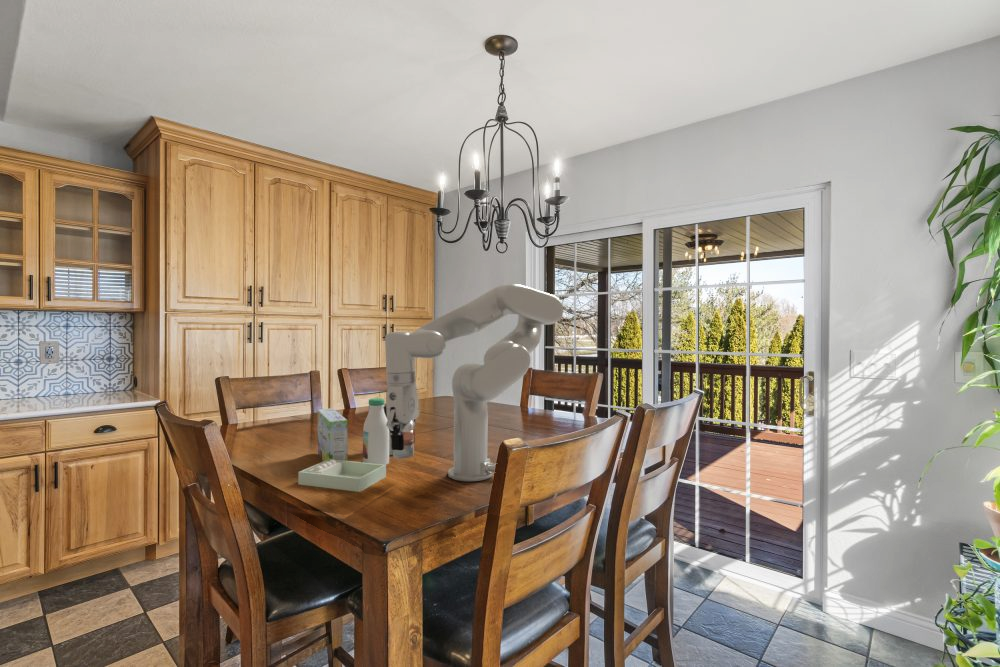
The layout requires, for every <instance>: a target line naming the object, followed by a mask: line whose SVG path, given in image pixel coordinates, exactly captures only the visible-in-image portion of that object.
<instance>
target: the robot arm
mask: <svg viewBox="0 0 1000 667" xmlns="http://www.w3.org/2000/svg"><path fill="white" fill-rule="evenodd" d="M563 314H564V305H563V303H562V301H561V300H560V298H558V297H557V296H556V295H554V294H552V293H551V294H550V293H549V292H545V291H541V290H538V289H535V288H532V287H529V286H526V285H523V284H518V283H509V284H501V285H499V286H496V287H493V288H492V289H490V290H488V291H486V292H485V293H483V294H482V295H480V296H478V297H476V298H474V299H473V300H471V301H469V302H467V303H465V304H463V305H462V306H460V307H458V308H455V309H453V310H452V311H450V312H447V313H445V314H444V315H441V316H440V317H437V318H435V319H433V320H431V321H430V322H428V323H426V324H424V325H422V326H421V327H419V328H417V329H415V330H414V331H413V332H410V331H393V332H388V333H386V335H385V338H384V341H385V342H384V346H385V374H386V375H385V377H386V386H387V389H386V404H387V424H386V426H387V427H388V428H389V431H390V435H391V441H392V450H403V449H404V439H403V435H401V434H402V427H403V424H406V423H408V422H410V421H412V420H413V434H414V435H415V428H416V424H415V423H416V419H418V417H419V416H420V405H419V404H420V403H419V396H418V395H419V394H418V389H417V384H416V383H417V382H416V380H417V379H416V359H417V358H420V359H436V358H438V357H440V356H441V355H442V354H443V353H444V351H445V349H446V345H447V343H448V342H449V341H452V340H455V339H457V338H462V337H466V336H471V335H473V334H477V333H478V332H480V331H482V330H483V329H486V328H487V327H489V326H490V325H492V324H494V323H495V322H497V321H499V320H500V319H502V318H503V317H505V316H507V315H518V319H517V325H516V326H515V327H514V329H513V330H511V332H509V333H508V334H507V335H505V336H504V337H503V338H501V339H500V340H499V341H497V342H496V343H494V344H493V345H491V346H490V347H489V348H488V349H487V350H486V351H485V353H484V355H483V365H482V364H478V363H470V362H467V363H464V364H462V365H460V366H458V368H457V369H456V370H455V371H454V372H453V375H452V380H451V388H452V396H453V397H452V398H453V408H454V409H453V410H454V411H453V417H454V418H453V467H451V468H449V469H448V471H447V476H448V478H450V479H453V480H455V481H458V482H459V481H460V482H479V481H480V482H481V481H486V480H488V479H490V478H491V477H493V473H495V472H494V470H495V465H496V464H497V463H492V462H491V458H490V457H488V429H489V428H488V427H489V425H488V420H489V410H488V409H489V408H488V402H490V401H493V400H495V399H496V398H498V397H499V396H501V395H502V394H503V393H505V392H506V391H507V390H509V389H510V388H511V387H512V386H514V385H515V384H516V383H517V382H518V381H520V380H521V379H522V378H523V377H524V376H525V375H527V374H526V373H527V372H528V370H529V368H530V366H531V353H532V352H533V351H535V349H537V347H538V345H539V343H540V341H541V336H542V328H543V327H542V325H543V326H544V325H545V326H546V325H548V326H549V325H554V324H557V323H558V322H559V321H561V319H562V316H563ZM395 420H398V421H399V422H400V423H398V422H395ZM395 425H399V428H397V426H395ZM415 440H416V439H415V437H414V444H415V442H416V441H415Z"/></svg>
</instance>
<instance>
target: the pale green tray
mask: <svg viewBox="0 0 1000 667" xmlns="http://www.w3.org/2000/svg"><path fill="white" fill-rule="evenodd" d="M330 460H334V459H328V460H326V461H323V460H322V461H321V462H319V463H316V464H314V465H312V466H309V467H307V468H305V469H302V470H300V471H298V475H297V476H298V479H297V480H298V482H297V483H298V485H301V486H309V487H315V488H324V489H333V490H341V491H350V492H356V493H357V492H358V493H360V492H362V491H364V490H366V489H367V488H369V487H371V486H373V485H374V484H376V483H378V482H380V481H381V480H383V479H385V478H386V477H387V465H382V464H373V463H363V461H362V462H361V461H351V460H348V461H344V460H335V461H336V462H341V463H342V474H341V475H339V476H337V475H328V474H320V473H311V472H308V470H310V469H312V468H315V467H316V466H318V465H321V464H323V463H325V462H329V461H330Z"/></svg>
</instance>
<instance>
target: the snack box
mask: <svg viewBox="0 0 1000 667" xmlns="http://www.w3.org/2000/svg"><path fill="white" fill-rule="evenodd" d="M316 413H317V417H316V418H317V422H316V423H317V455H318V456H319V458H320V459H321V460H322V462H323V461H326V460H328V459H334V460H344V461H349V456H348V452H349V450H348V423H349V422H348V419H347V418H345V417H344V416H343V415H342V414H340V413H339V412H338V411H337V410H335V409H334V408H330V407H329V408H322V409H321V408H320V409H319V408H318V409H317V411H316Z"/></svg>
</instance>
